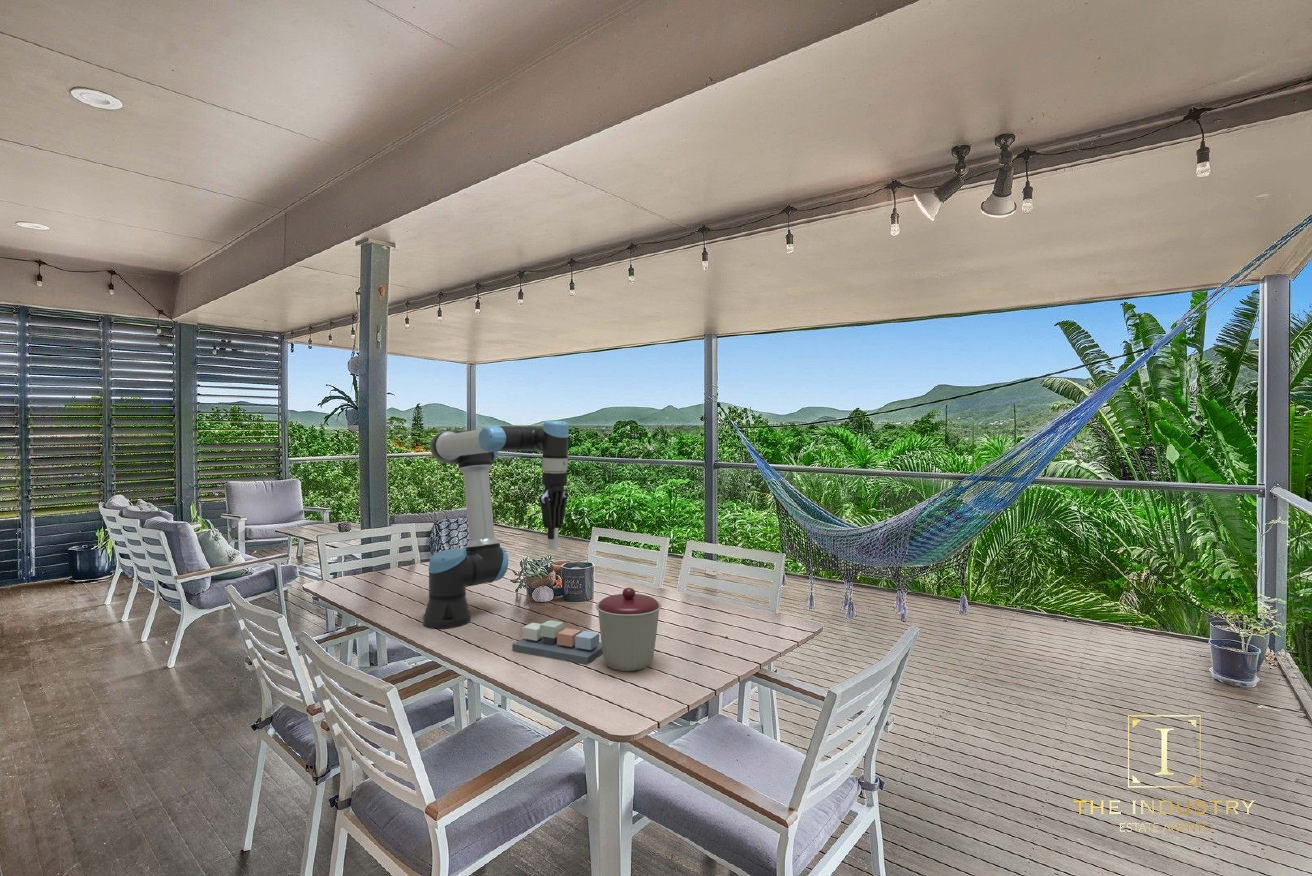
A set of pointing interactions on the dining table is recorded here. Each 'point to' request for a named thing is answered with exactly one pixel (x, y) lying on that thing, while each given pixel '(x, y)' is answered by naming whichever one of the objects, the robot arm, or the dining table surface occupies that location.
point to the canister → (628, 629)
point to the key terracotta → (567, 637)
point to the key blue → (587, 640)
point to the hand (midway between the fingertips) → (552, 549)
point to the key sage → (551, 628)
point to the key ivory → (532, 632)
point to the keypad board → (557, 650)
